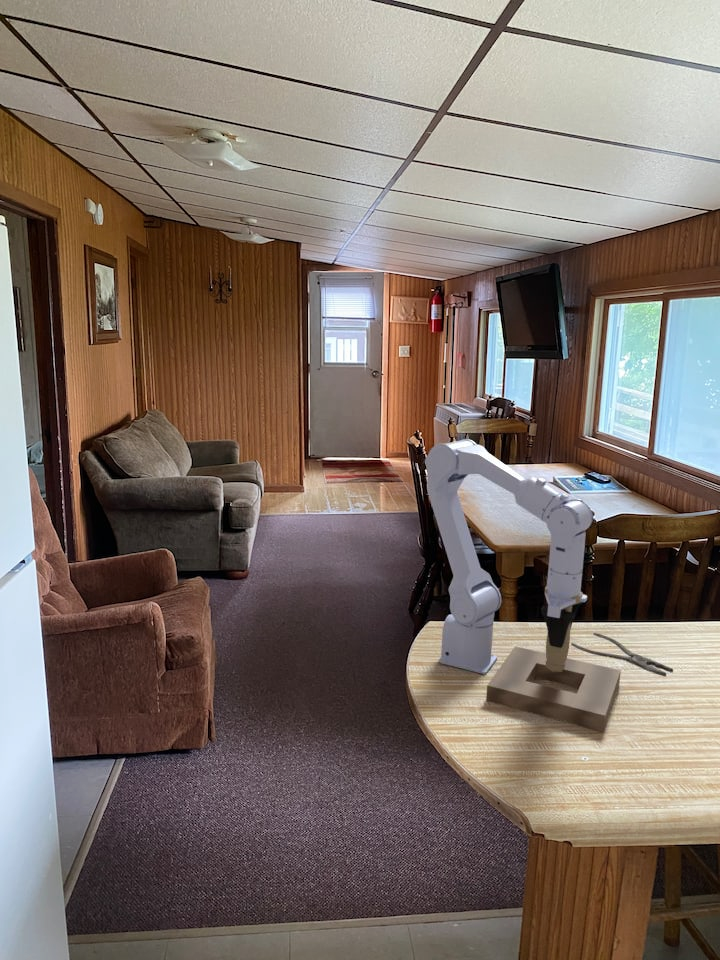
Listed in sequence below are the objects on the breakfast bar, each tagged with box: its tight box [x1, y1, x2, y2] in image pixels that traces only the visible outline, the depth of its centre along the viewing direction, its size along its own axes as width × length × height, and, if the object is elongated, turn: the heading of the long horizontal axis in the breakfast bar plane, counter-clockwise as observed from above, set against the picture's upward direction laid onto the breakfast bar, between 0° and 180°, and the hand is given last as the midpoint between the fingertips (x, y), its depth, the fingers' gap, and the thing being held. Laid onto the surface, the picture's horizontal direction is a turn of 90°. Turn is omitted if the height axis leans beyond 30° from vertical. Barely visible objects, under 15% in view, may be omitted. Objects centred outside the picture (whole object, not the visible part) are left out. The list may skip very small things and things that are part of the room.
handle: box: [544, 585, 584, 672], centre depth 126 cm, size 5×6×15 cm
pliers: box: [570, 632, 674, 676], centre depth 145 cm, size 10×1×20 cm
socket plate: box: [485, 646, 622, 733], centre depth 128 cm, size 20×18×3 cm
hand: (558, 641), depth 126 cm, fingers closed on handle, 4 cm apart
